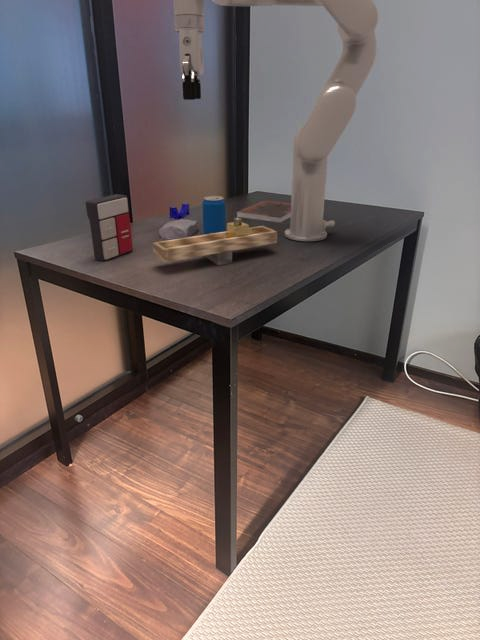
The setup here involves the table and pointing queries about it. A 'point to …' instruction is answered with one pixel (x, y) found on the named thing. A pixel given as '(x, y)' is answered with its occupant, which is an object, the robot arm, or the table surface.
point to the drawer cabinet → (109, 226)
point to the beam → (212, 245)
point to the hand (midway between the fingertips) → (192, 99)
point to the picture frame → (267, 211)
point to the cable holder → (179, 214)
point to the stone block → (178, 229)
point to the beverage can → (213, 215)
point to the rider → (237, 228)
